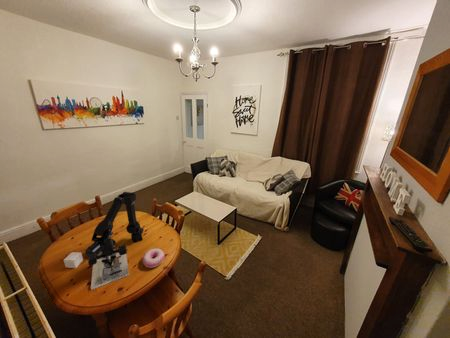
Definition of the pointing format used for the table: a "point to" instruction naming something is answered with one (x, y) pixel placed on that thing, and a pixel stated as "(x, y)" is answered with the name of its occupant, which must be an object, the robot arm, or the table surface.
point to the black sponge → (113, 244)
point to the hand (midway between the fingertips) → (110, 265)
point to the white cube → (73, 260)
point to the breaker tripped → (116, 262)
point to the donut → (151, 261)
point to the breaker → (105, 273)
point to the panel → (113, 272)
